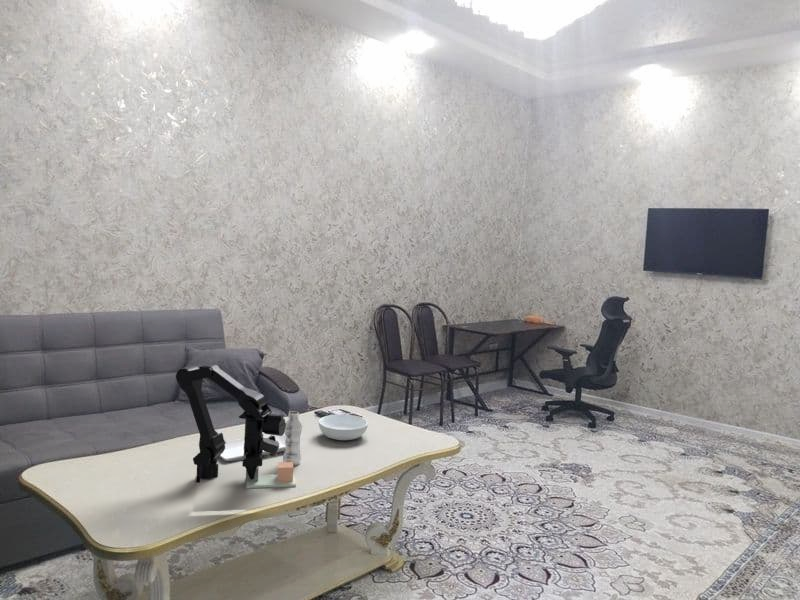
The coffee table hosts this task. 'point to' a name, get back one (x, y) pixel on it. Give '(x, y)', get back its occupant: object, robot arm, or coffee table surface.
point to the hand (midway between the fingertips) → (252, 477)
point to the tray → (236, 448)
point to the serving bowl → (343, 426)
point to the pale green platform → (267, 481)
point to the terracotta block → (285, 472)
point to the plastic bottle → (292, 439)
